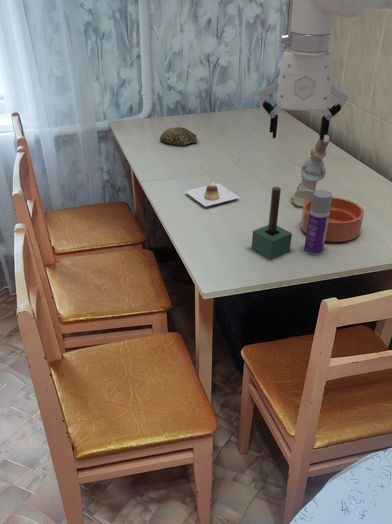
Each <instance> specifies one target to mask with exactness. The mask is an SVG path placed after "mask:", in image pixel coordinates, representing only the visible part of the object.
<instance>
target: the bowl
mask: <svg viewBox="0 0 392 524" xmlns="http://www.w3.org/2000/svg"><path fill="white" fill-rule="evenodd" d="M311 203H312V199H311V200H309V201H307V202H306V203H305V204H304V207H303V206H302V213H301V220H300V228H301V230H302V232H304V233H305V235H306V234H307V227H308V221H309V214H310V208H311ZM364 215H365V211H364V209H363V207H362V206H361V205H359V204H358V203H357V202H354V201H352V200H350V199H345V198H342V197H336V196H335V197H334V196H332V201H331V208H330V215H329V220H328V226H327V231H326V237H325V242H330V243H332V242H333V243H336V242H341V243H342V242H346V241H351V240H353V239H355V238H357V237H358V236H359V235H360V234H361V229H362V225H363V219H364Z"/></svg>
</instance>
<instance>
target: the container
mask: <svg viewBox="0 0 392 524" xmlns="http://www.w3.org/2000/svg"><path fill="white" fill-rule="evenodd" d="M315 190H316V191H314V192H313V197H312V203H311V208H310V214H309V221H308V227H307V234H306V233H305V241H304V247H303V250H304V252H305V253H306V254H308V255H311V256H318V255H319V256H320V255H321V254H323V252H324V248H325V242H326V241H325V237H326V231H327V226H328V220H329V215H330V208H331V201H332V197H333V193H332V192H331V191H329V190H326V189H315Z"/></svg>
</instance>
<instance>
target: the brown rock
mask: <svg viewBox="0 0 392 524" xmlns="http://www.w3.org/2000/svg"><path fill="white" fill-rule="evenodd" d="M159 140H160V141H161V142H162V143H163V144H167V145H170V146H174V147H175V146H178V147H186V146H187V145H189V144H197V142H198V139H197V134H195V133H193V132H192V131H191V130H189V129H188V128H185V127H181V126H174V127H169V128H168V129H166V130H164V131H163V132H162V134H161V135H160V136H159Z"/></svg>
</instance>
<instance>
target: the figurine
mask: <svg viewBox="0 0 392 524" xmlns="http://www.w3.org/2000/svg"><path fill="white" fill-rule="evenodd" d="M330 139H331V138H330V136H329V135H324V140H320V137H319V138H318V140H317V142H315V144H314V145H313V146H312V148H311V149H310V153H309V154H310V157H309V158H307V160H306V161H304V163H302V165H301V171H300V176H301V182H299V183H298V185H297V187H296V192H294V193H293V194H292V196H291V202H292V203H293V204H294V205H295V206H298V207H302V208H303V207H304V204H305V203H306V202H307V201H309V200H311V199H312V197H313V192H314V191H316V190H317V189H316V188H317V183H318V182H319V181H322V180H323V179H324V178H325V175H326V172H327V169H326V166H325V162H324V161H323V160H324V158H326V156H327V147H328V146H329V144H330Z"/></svg>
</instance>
